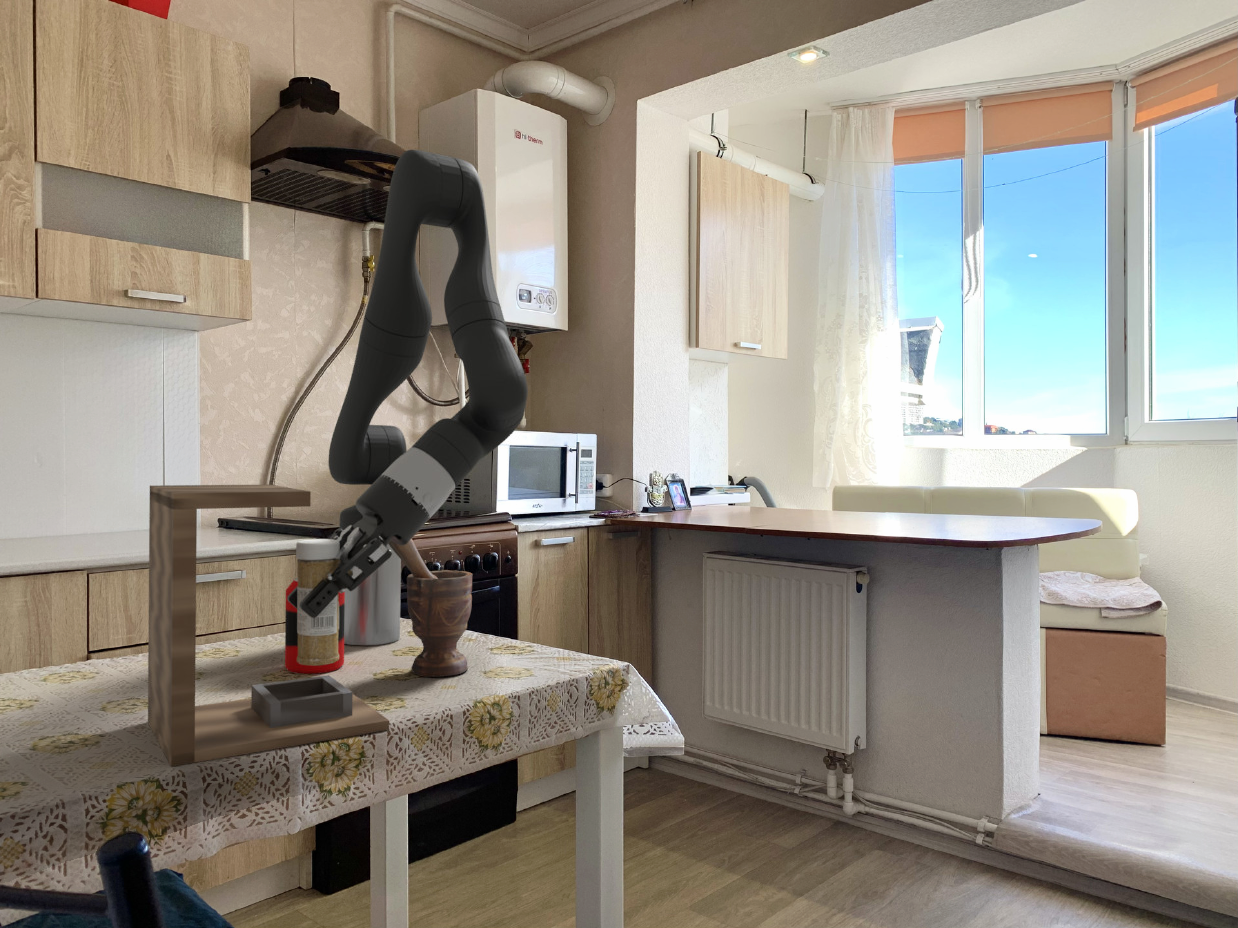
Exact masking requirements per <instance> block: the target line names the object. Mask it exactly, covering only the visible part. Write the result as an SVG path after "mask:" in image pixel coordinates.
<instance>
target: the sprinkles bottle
mask: <svg viewBox="0 0 1238 928" xmlns="http://www.w3.org/2000/svg"><path fill="white" fill-rule="evenodd" d="M295 551H296V552H295V558H296V559H297V560H296V562H297V578H298V586H297V633H298V656H297V662H298V663H300V664H303V665H313V666H320V665H326V664H331V663H334V662H336V661H338V660H339V653H338V630H339V602H338V595H337V596H336V597H335V598H334V599H333V600H332V601H331V602H330V603H329V604H328V605H327V606H326V607H325V609H324V610H323V611H322V612H321V613H320V614H319V615H318V616H317V617H315V618H312V617H310V616H309V615H308V614H306V613H305V612H304V611H303V610H302V609H301V608H300V602H301V601H302V600H303V599H304V598H305V597H306V596H307V595H308V594H309V593H310V592H311V591H312V590H313V589H314V588H315V587H316V586H317V584H318V583H319V582H320V581H321V580H322V579H323V580H325V581H327V580H326V579H325V576H326V574H327V573H328V572H329V571H330V570H331V568H332V567H333V566H334V565H335V561H334V558H335V557H336V555H337V554H338V552H339V551H340V543H339V541H338V540H333V539H329V538H313V539H312V538H311V539H302V540H298V541H297V542H296V547H295Z"/></svg>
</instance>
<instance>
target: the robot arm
mask: <svg viewBox="0 0 1238 928" xmlns="http://www.w3.org/2000/svg"><path fill="white" fill-rule="evenodd" d="M422 225H425V226H426V225H427V226H432V227H438V228H445V229H451V231H452V232H453V234H454V238H455V240H456V243H457V249H458V251H457V256H456V260H455V262H454V265H453V268H452V270H451V273H450V275H449V277H448V280H447V282H446V286H445V289H444V295H443V297H444V298H443V304H444V307H443V308H444V314H445V318H446V321H447V325H448V329H449V332H450V337H451V340H452V343H453V347H454V350H455V353H456V355H457V357H458V358H459V359H460V361H461V362H462V365H463V367H464V372H465V376H466V380H467V386H468V387H467V388H468V400H467V401H466V403H465V405H464V406H463V407H462V408H461V409H460V410H459V411H458V412H456V413H455V414H454V415H452V417H451V418H441V419H439V420H438V421H436V422H435V423H434V424H432V425H431V426H430V427H429V428H428V429H427V430H426V432H424V433H423V434H422V436H421V437H419V438H418V440H416V442H414V444H413V445H411V447H409V449H407V443H406V439H405V436H404V433H403V432H402V430H401V429H400V428H399V427H397V426H395V425H384V424H371V422H372V420H373V418H374V416H375V414H376V412H377V410H378V409H379V407H381V405H382V404H383V402H385V400H386V399H387V398H388V397H389V396H390V395H391V394H392V393H394V392H395V390H397V389H398V388H399V387H400V386H401V385H402V384H403V383H404V382H405V381H406V380H407V379H408V378H410V376H411V375H412V373H413V372H414V371H415V370H416V369H417V368H418V366H419V365H420V363H421V362H422V359H423V356H424V354H425V350H426V346H427V344H428V343H427V342H428V340H429V336H430V332H431V329H432V328H431V326H432V321H433V314H432V309H431V303H430V301H429V298H428V297H429V296H428V294H427V293H426V289H425V287H424V284H423V281H422V279H421V275H420V273H419V270H418V266H417V259H416V258H417V257H416V250H417V241H418V234H419V231H420V228H421V226H422ZM488 228H489V227H488V218H487V212H486V203H485V195H484V190H483V186H482V182H481V178H480V176H479V172H478V171H477V169H476V168H475V166H474V165H473V164H472V163H470V162H468V161H466V160H463V159H461V158H457V157H454V156H447V155H444V154H439V153H434V152H429V151H424V150H419V149H408V150H405V151H404V152H403V153H402V154H401V155H400V157H399V158H398V160H397V162H396V164H395V166H394V168H393V173H392V176H391V180H390V185H389V191H388V197H387V203H386V211H385V217H384V224H383V230H382V231H383V232H382V238H381V245H380V250H379V256H378V261H377V267H376V270H375V274H374V279H373V282H372V287H371V291H370V294H369V298H368V302H367V306H366V309H365V313H364V317H363V320H362V325H361V329H360V333H359V334H360V335H359V339H358V345H357V348H356V349H357V350H356V354H355V359H354V363H353V368H352V372H351V377H350V380H349V384H348V388H347V390H346V394H345V397H344V400H343V402H342V406H341V409H340V412H339V414H338V417H337V421H336V424H335V426H334V430H333V431H332V436H331V440H330V444H329V449H328V470H329V473H330V475H331V478H332V479H333V480H334V481H335V482H337V483H338V484H343V485H352V486H353V485H354V486H355V485H356V486H358V485H359V486H360V485H362V486H363V485H364V486H365V485H368V486H369V485H370V486H369V487H368V488H367V489H366V490H364V492H362V494H361V495H360V496H358V498H357V499H356V500H355V504H354V505H352V506H349V507H346V508H344V509H343V510H341V512H340V514H339V525H338V526H339V528H337V529H336V530H334V532H333V533H332V535H330V537H329V538H328V539H333V540H338V541H339V543H340V551H339V552H338V554H337V555H336V557H335V558H334V561H335V565H334V566H333V567H332V568H331V570H330V571H329V572H328V573H327V574H326V576H325V579H326V580H327V581H325V580H323V579H322V580H321V581H320V582H319V583H318V584H317V586H316V587H315V588H314V589H313V590H312V591H311V592H310V593H309V594H308V595H307V596H306V597H305V598H304V599H303V600H302V601H301V602H300V608H301V609H302V610H303V611H304V612H305V613H306V614H308V615H309V616H310V617H312V618H315V617H317V616H318V615H319V614H320V613H321V612H322V611H323V610H324V609H325V607H326V606H327V605H328V604H329V603H330V602H331V601H332V600H333V599H334V598H335V597H336V596H337V595H338V594H339V593H338V592H340V593H343V592H345V616H344V645H352V646H375V645H377V646H378V645H385V644H390V643H393V642H394V643H395V642H396V641H398V640H400V637H401V588H402V587H401V581H402V580H401V577H402V576H401V574H402V573H401V572H402V560H401V559H400V558H399V557H398V556H397V554H396V553H395V552H394V551H393V549H392V548H391V547H390V545H389V544H388V543H389V542H390V541H392V542H394V543H395V544H398V545H405V544H407V543H408V542H409V541H410V539H411V538H414V537H415V535H416V534H417V533H418V532H419V531H420V530H421V528H423V527H424V525H425V524H426V523H427V522H428V521H429V520H430V519H431V517H432V516H434V514H435V513H436V512H438V510H439V509H440V508H441V507H442V506H443V505H444V504H445V502H446V501H447V499H448V498H449V497H450V495H451V493H452V492H453V491H454V490H455V489H456V487H458V486H459V484H460V483H462V481H463V480H464V479H466V477H467V476H468V474H469V473H470V472H471V471H472V470H473V468H474V467H475V466H476V465H477V464H478V463H479V461H481V460H482V459H484V458H485V457H486V456H487V455H489V454H490V453H491V452H493V451H494V450H495V449H497V448H498V447H499V446H500V445H501V444H502V443H504V442H505V441H506V440H507V439H508V438H509V437H510V436H511V435H512V434H513V433H514V432H515V430H516V429H517V428H518V427H519V426H520V424H521V422H522V420H523V419H524V415H525V411H526V406H527V399H528V383H527V378H526V374H525V370H524V368H523V365H522V362H521V360H520V359H519V356H518V354H517V351H516V350H515V348H514V346H513V344H512V342H511V340H510V337H509V332H508V327H507V324H506V320H505V317H504V315H503V310H502V306H501V303H500V301H499V297H498V292H497V288H496V284H495V280H494V273H493V267H492V257H491V256H492V255H491V246H490V237H489V229H488ZM287 600H288V601H289V602H290V603H291V604H292V605H293V606H294V607H295V608H297V587H296V588H295V589H294V590H293V591H292V592H291V593H290V594H289V595H288V597H287Z"/></svg>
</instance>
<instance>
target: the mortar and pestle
mask: <svg viewBox="0 0 1238 928" xmlns="http://www.w3.org/2000/svg"><path fill="white" fill-rule="evenodd" d="M412 538H413V537H412ZM412 538H411V539H410V541H409V542H408V543H407V544H405V545H398V544H395V543H394V542H392V541H390V542H389V543H388V544H389V545H390V547H391V548H392V549H393V551H394V552H395V553H396V554H397V556H398V557H399V558H400V559H401V562H403V564H404V565H405V566H406V567H407V569H408V570H409V572H410V573H411V574H408V576H407V577H406V595H407V596H406V598H407V599H406V600H407V611H408V614H409V617H410V620H411V624H412V626H411V627H412V628H411V629H412V632H413V634H414V635H415V636H416V637H417V638H418V639H420V640H421V643H422V646H423V647H422V648H423V649H422V651H421V652H420V653H419V654H418V655H417V656H416V657H415V658H414V660H413V663H412V665H411V671H412V673H414V675H417V676H420V677H425V678H426V677H429V678H430V677H432V678H437V677H448V676H457V675H459V674H460V675H461V674H462V673H464V672H466V671H467V670H468V669H469V667H468V660H467V657H466V656H465V654H463V653H460V651H459V648H457V647H458V645H457V643H458V642H459V640H460V638H461V637H462V636H463V635H464V633H465V632H466V630H467V629H468V621H469V618H470V616H471V612H472V606H473V605H472V601H473V596H472V591H473V573H471V572H469V571H465V570H464V571H463V570H460V571H459V570H457V569H455V570H448V569H445V570H432V571H431V570H429V569H428V567H427V565H426V563H425V561H424V559H423V558H422V557H421V554H420V552H419V550H418V548H417V546H416V544H415V542H414V540H413V539H412Z"/></svg>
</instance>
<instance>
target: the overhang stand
mask: <svg viewBox="0 0 1238 928" xmlns="http://www.w3.org/2000/svg"><path fill="white" fill-rule="evenodd" d="M311 499H312V498H311V491H310V490H303V489H297V488H294V487H288V486H282V485H281V486H280V485H275V484H188V485H187V484H185V485H183V484H182V485H181V484H179V485H177V484H176V485H170V484H168V485H166V484H165V485H160V484H159V485H149V512H148V513H149V516H148V517H149V519H148V520H149V522H148V523H149V529H148V530H149V531H148V532H149V533H148V536H149V538H148V539H149V540H148V541H149V542H148V543H149V544H148V546H149V547H148V549H149V551H148V639H147V640H148V648H147V652H148V653H147V656H148V658H147V659H148V662H147V663H148V664H147V665H148V666H147V668H148V669H147V672H148V673H147V683H148V684H147V723H148V725H149V727H150V729H151V731H152V732H153V735H154V737H155V739H156V740H157V743H158V744H159V746H160V748H161V750H162V752H163V753H164V756H165V758H166V759H167V761H168V764H169V766H171V767H175V766H177V767H178V766H181V765H187V764H194V763H199V762H200V763H201V762H206V761H212V760H217V759H223V758H230V757H235V756H236V757H237V756H242V755H247V754H252V753H258V752H260V753H261V752H264V751H271V750H277V749H283V748H289V747H295V746H300V745H301V746H302V745H306V744H313V743H319V742H325V741H329V740H330V741H331V740H336V739H341V738H349V737H353V736H360V735H367V734H370V733H371V734H372V733H378V732H383V731H389V730H390V719H388V718H387V717H386V716H384V715H382V713H380V712H378V711H377V710H375V708H373V707H372V706H370V705H369V704H368V703H366V702H365V701H363V700H362V699H360V698H359V697H358V696H357V695H355V694H354V692H353V691H352V690H350V689H349V688H347V687H346V686H344V685H343V684H342V683H340V682H339V681H338V680H336V679H335V678H334V677H332V676H331V675H329V674H327V675H320V676H315V677H314V676H312V677H305V678H298V679H297V678H296V679H291V680H281V681H275V682H274V681H273V682H267V683H257V684H251V689H250V690H251V698H246V699H238V700H231V701H223V702H216V703H209V704H202V705H201V704H200V705H196V656H197V655H196V648H197V646H196V641H197V639H196V636H197V635H196V632H197V631H196V629H197V624H196V623H197V619H196V618H197V538H198V537H197V536H198V534H197V533H198V532H197V531H198V529H197V527H198V526H197V525H198V520H197V518H198V516H197V514H198V510H211V509H215V510H216V509H252V508H253V509H254V508H257V509H259V508H293V507H294V508H297V507H301V508H302V507H304V508H305V507H311Z"/></svg>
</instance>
